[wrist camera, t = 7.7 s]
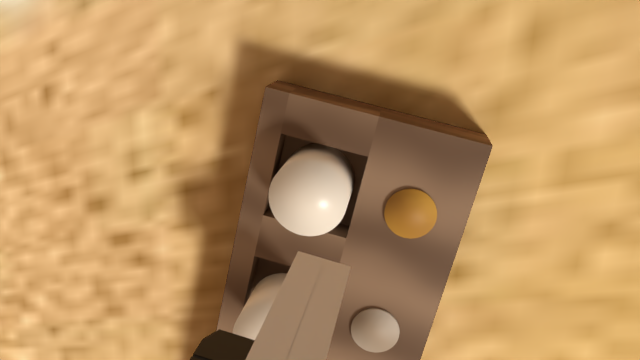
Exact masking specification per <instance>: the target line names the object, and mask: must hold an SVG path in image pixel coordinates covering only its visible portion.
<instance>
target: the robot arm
mask: <svg viewBox="0 0 640 360" xmlns="http://www.w3.org/2000/svg"><path fill="white" fill-rule="evenodd" d="M350 268H351V267H350V266H347V265H344V264H340V263H337V262H333V261H330V260H327V259H323V258H320V257H317V256H313V255H310V254H306V253H303V252H300V251H298V252H297V255H296V257H295V259H294V261H293V263H292V265H291V267H290V269H289V271H288V273H287V275H286V277H285V279H284V281H283V283H282V285H281V287H280V290H279V292H278V294H277V296H276V298H275V300H274V302H273V304H272V306H271V308H270V310H269V312H268V314H267V316H266V318H265V320H264V323H263V325H262V327H261V329H260V331H259V333H258V335H257V337H256V339H255V340H252V339H249V338H246V337H243V336H240V335H236V334H233V333H230V332H227V331H223V330H220V329H219V330H217V331H216V332H214V333H212V334H211V335H209V336H207V337H206V338H204V339H203V340H202V341H201V343H200V344H199V346H198V348H197V349H196V351H195V352H194V354H193V357H191V359H190V360H326V358H327V354H328V350H329V347H330V343H331V339H332V335H333V332H334V328H335V324H336V320H337V317H338V313H339V309H340V306H341V302H342V298H343V294H344V291H345V287H346V283H347V279H348V276H349V272H350Z"/></svg>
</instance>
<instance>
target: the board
mask: <svg viewBox="0 0 640 360" xmlns="http://www.w3.org/2000/svg"><path fill="white" fill-rule="evenodd" d="M317 143H318V144H322V145H326V146H329V147H333V148H336V149H338V150H339V151H340V152H342V153H343V154H344V155H345V156H346V157H347V159H348V160H349V162H350V164H351V166H352V168H353V172H354V187H353V190H352V193H351V197H350V200H349V203H348V206H347V209H346V212H345V215H344V217H343V219H342V220H341V221H340V223H339V224H338V225H337V226H336V227H335V228H334V229H332V230H331V231H329V232H327V233H325V234H322V235H318V236H302V235H298V234H295V233H293V232H291V231H289V230H287V229H286V228H285V227H283V226H282V225H281V224H280V223H279V222H278V221H277V219H276V218H275V217H274V215H273V213H272V211H271V208H270V204H269V188H270V184H271V182H272V180H273V178H274V176H275V175H276V174H277V172H278V171H279V170H280V169H281V167H282V166H283V165H284V164H285V163H286V161H287V160H288V159H289V158H290V156H291V155H292V154H293V153H294V152H295V151H296V150H298V149H299V148H301V147H303V146H306V145H309V144H317ZM491 149H492V144H491V142H490V141H489V139H488V137H487V135H486V134H482V133H478V132H475V131H471V130H467V129H463V128H459V127H455V126H451V125H448V124H444V123H440V122H436V121H432V120H428V119H425V118H421V117H417V116H413V115H409V114H405V113H401V112H398V111H394V110H390V109H386V108H382V107H378V106H374V105H371V104H367V103H363V102H359V101H355V100H351V99H347V98H344V97H340V96H336V95H332V94H328V93H324V92H320V91H317V90H313V89H309V88H305V87H301V86H297V85H293V84H290V83H286V82H282V81H278V80H277V81H275V82H274V83H272V84H270V85H268V86H266V88H265V93H264V98H263V103H262V108H261V113H260V117H259V122H258V127H257V132H256V137H255V142H254V147H253V152H252V157H251V162H250V167H249V172H248V177H247V182H246V187H245V192H244V197H243V202H242V207H241V211H240V216H239V221H238V226H237V231H236V236H235V241H234V246H233V251H232V256H231V261H230V266H229V271H228V276H227V281H226V286H225V291H224V296H223V300H222V305H221V310H220V315H219V320H218V325H217V330H219V329H220V330H223V331H227V332H230V333H233V328H234V324H235V322H236V320H237V318H238V317H239V315H240V313H241V311H242V310H243V308H244V306H245V304H246V302H247V301H248V299H249V297H250V295H251V293H252V292H253V290H254V288H255V287H256V285H257V284H258V283H259V282H260V281H261V280H262V279H264V278H265V277H267V276H269V275H272V274H277V273H288V271H289V269H290V267H291V265H292V263H293V261H294V259H295V257H296V255H297V252H298V251H300V252H303V253H306V254H310V255H313V256H317V257H320V258H323V259H327V260H330V261H333V262H337V263H340V264H344V265H347V266H350V267H351V268H350V272H349V276H348V279H347V283H346V287H345V291H344V294H343V298H342V302H341V306H340V309H339V313H338V317H337V320H336V324H335V328H334V332H333V335H332V339H331V343H330V347H329V350H328V354H327V358H326V360H420V359H421V356H422V353H423V350H424V347H425V344H426V341H427V338H428V335H429V332H430V329H431V326H432V323H433V320H434V318H435V315H436V312H437V309H438V306H439V303H440V300H441V297H442V294H443V291H444V288H445V285H446V282H447V279H448V276H449V273H450V270H451V267H452V264H453V261H454V258H455V256H456V253H457V250H458V247H459V244H460V241H461V238H462V235H463V232H464V229H465V226H466V223H467V220H468V217H469V214H470V211H471V208H472V205H473V202H474V199H475V196H476V194H477V191H478V188H479V185H480V182H481V179H482V176H483V173H484V170H485V167H486V164H487V161H488V158H489V155H490V152H491ZM217 330H216V331H217Z"/></svg>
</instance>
